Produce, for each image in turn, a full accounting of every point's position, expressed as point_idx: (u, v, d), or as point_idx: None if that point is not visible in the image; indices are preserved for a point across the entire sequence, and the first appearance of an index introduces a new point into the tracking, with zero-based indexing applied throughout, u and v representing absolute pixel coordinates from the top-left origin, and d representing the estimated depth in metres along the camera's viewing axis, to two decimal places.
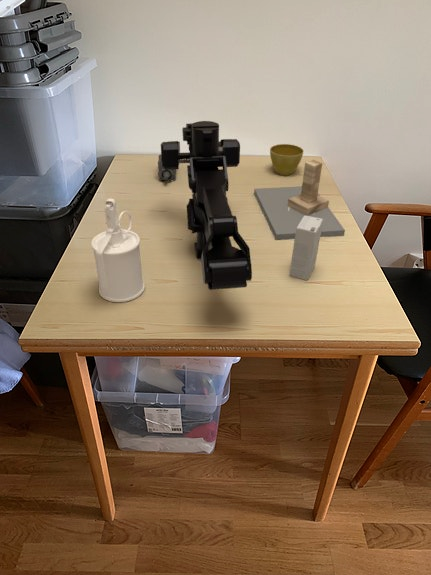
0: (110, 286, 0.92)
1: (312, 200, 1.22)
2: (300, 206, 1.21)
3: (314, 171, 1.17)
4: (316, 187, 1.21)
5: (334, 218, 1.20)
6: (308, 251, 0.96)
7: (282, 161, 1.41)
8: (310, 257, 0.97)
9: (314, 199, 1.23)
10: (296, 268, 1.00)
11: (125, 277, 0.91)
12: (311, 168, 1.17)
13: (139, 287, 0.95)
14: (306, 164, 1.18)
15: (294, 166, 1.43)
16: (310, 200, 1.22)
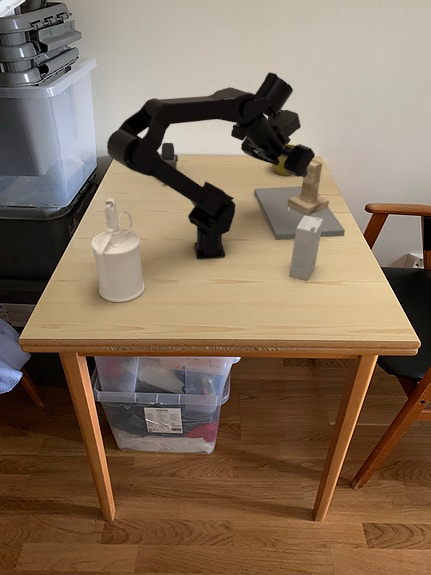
0: (110, 286, 0.92)
1: (312, 200, 1.22)
2: (300, 206, 1.21)
3: (314, 171, 1.17)
4: (316, 187, 1.21)
5: (334, 218, 1.20)
6: (308, 251, 0.96)
7: (282, 161, 1.41)
8: (310, 257, 0.97)
9: (314, 199, 1.23)
10: (296, 268, 1.00)
11: (125, 277, 0.91)
12: (311, 168, 1.17)
13: (139, 287, 0.95)
14: None
15: None
16: (310, 200, 1.22)
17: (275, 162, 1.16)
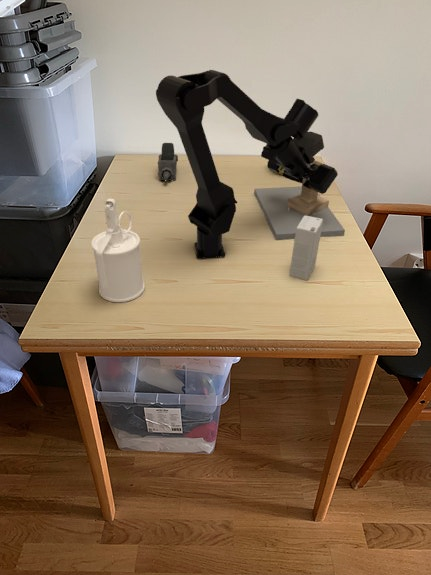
0: (110, 286, 0.92)
1: (312, 200, 1.22)
2: (300, 206, 1.21)
3: None
4: None
5: (334, 218, 1.20)
6: (308, 251, 0.96)
7: None
8: (310, 257, 0.97)
9: (314, 199, 1.23)
10: (296, 268, 1.00)
11: (125, 277, 0.91)
12: None
13: (139, 287, 0.95)
14: None
15: None
16: (310, 200, 1.22)
17: None
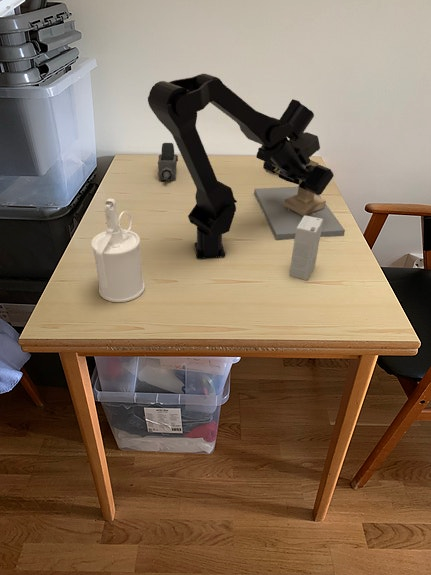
0: (110, 286, 0.92)
1: (309, 200, 1.22)
2: (297, 206, 1.21)
3: None
4: None
5: (334, 218, 1.20)
6: (308, 251, 0.96)
7: None
8: (310, 257, 0.97)
9: (311, 199, 1.22)
10: (296, 268, 1.00)
11: (125, 277, 0.91)
12: None
13: (139, 287, 0.95)
14: None
15: None
16: (307, 200, 1.21)
17: None
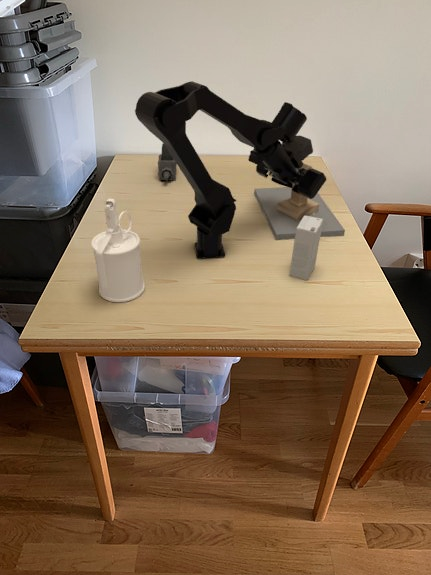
0: (110, 286, 0.92)
1: (302, 204, 1.20)
2: (290, 210, 1.19)
3: None
4: None
5: (334, 218, 1.20)
6: (308, 251, 0.96)
7: None
8: (310, 257, 0.97)
9: (304, 203, 1.21)
10: (296, 268, 1.00)
11: (125, 277, 0.91)
12: None
13: (139, 287, 0.95)
14: None
15: None
16: (300, 204, 1.20)
17: None
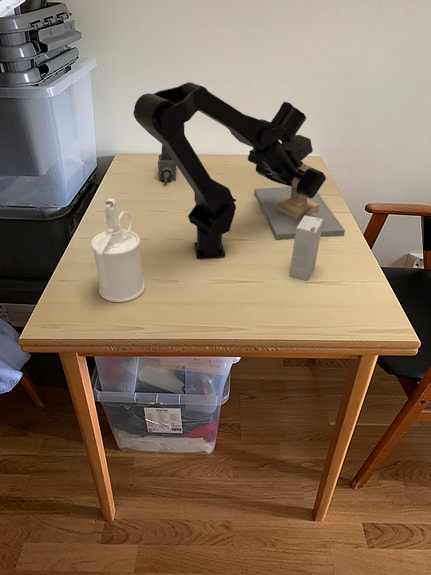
0: (110, 286, 0.92)
1: (302, 204, 1.20)
2: (289, 210, 1.19)
3: None
4: None
5: (334, 218, 1.20)
6: (308, 251, 0.96)
7: None
8: (310, 257, 0.97)
9: (304, 203, 1.21)
10: (296, 268, 1.00)
11: (125, 277, 0.91)
12: None
13: (139, 287, 0.95)
14: None
15: None
16: (300, 204, 1.20)
17: (291, 184, 1.21)
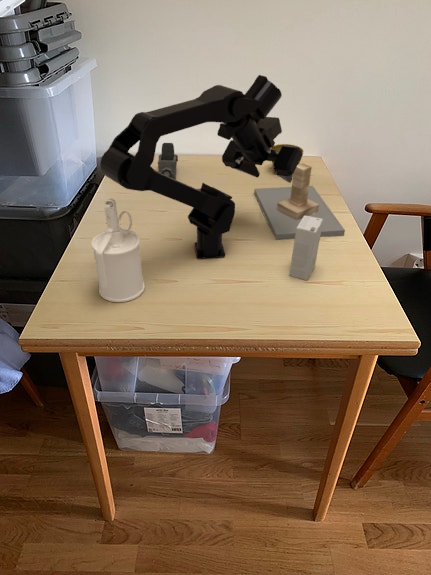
0: (110, 286, 0.92)
1: (302, 204, 1.20)
2: (289, 210, 1.19)
3: (303, 175, 1.15)
4: (306, 191, 1.19)
5: (334, 218, 1.20)
6: (308, 251, 0.96)
7: None
8: (310, 257, 0.97)
9: (304, 203, 1.21)
10: (296, 268, 1.00)
11: (125, 277, 0.91)
12: (300, 172, 1.15)
13: (139, 287, 0.95)
14: None
15: None
16: (300, 204, 1.20)
17: (256, 174, 1.14)
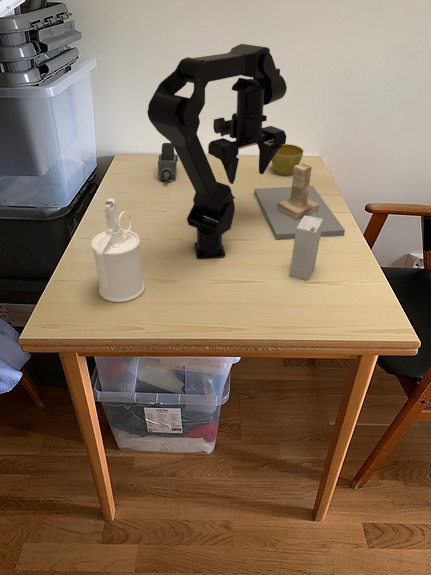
0: (110, 286, 0.92)
1: (302, 204, 1.20)
2: (289, 210, 1.19)
3: (303, 175, 1.15)
4: (306, 191, 1.19)
5: (334, 218, 1.20)
6: (308, 251, 0.96)
7: (282, 161, 1.41)
8: (310, 257, 0.97)
9: (304, 203, 1.21)
10: (296, 268, 1.00)
11: (125, 277, 0.91)
12: (300, 172, 1.15)
13: (139, 287, 0.95)
14: (295, 168, 1.16)
15: None
16: (300, 204, 1.20)
17: None
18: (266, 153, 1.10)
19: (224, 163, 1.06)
